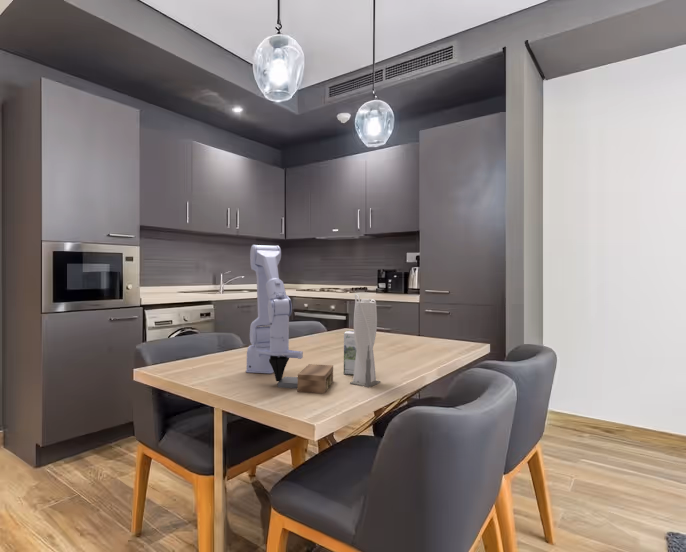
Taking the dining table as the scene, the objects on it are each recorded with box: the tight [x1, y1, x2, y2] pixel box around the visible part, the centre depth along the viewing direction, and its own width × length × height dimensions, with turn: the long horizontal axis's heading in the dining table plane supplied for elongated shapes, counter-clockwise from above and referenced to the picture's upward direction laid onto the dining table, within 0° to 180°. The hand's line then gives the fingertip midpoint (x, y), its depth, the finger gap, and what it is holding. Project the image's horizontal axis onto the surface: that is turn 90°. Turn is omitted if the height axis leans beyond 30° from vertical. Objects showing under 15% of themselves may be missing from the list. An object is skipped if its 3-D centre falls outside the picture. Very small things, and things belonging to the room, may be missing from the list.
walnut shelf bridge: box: [296, 363, 334, 394], centre depth 124 cm, size 8×14×5 cm, turn 171°
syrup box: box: [343, 330, 357, 376], centre depth 140 cm, size 6×6×14 cm
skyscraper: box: [349, 293, 381, 388], centre depth 129 cm, size 8×8×28 cm
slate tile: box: [277, 376, 298, 389], centre depth 125 cm, size 13×7×2 cm, turn 81°
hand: (279, 380), depth 126 cm, fingers closed
